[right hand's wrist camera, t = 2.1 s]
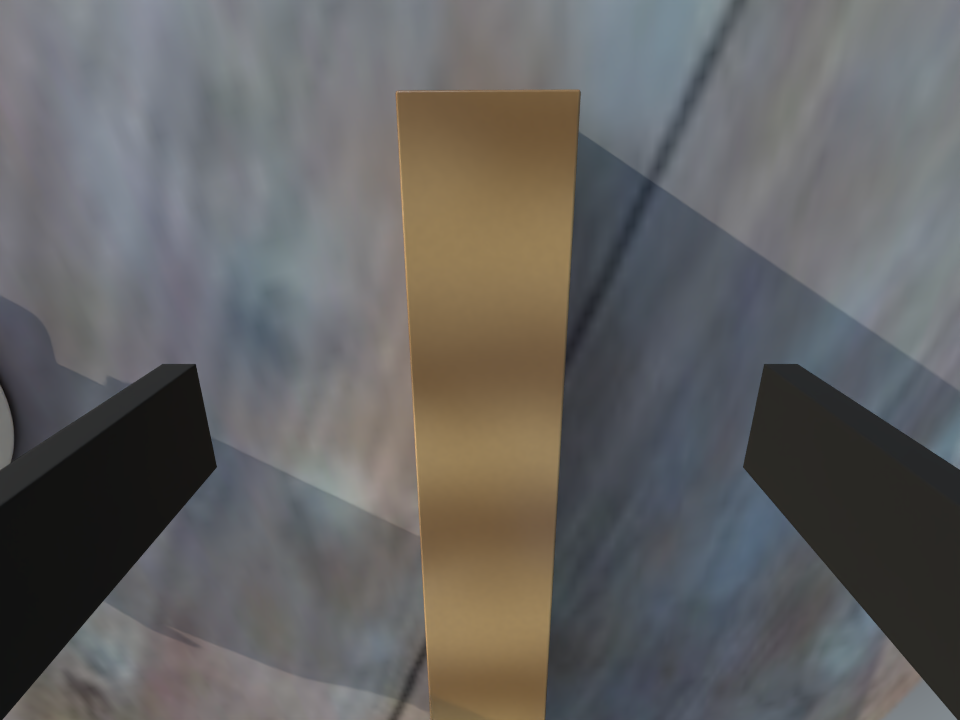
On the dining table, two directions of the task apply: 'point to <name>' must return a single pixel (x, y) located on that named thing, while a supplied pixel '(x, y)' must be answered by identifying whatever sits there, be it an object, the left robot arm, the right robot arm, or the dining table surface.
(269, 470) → the dining table surface
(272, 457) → the dining table surface
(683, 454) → the dining table surface
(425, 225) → the bar
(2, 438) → the left robot arm
